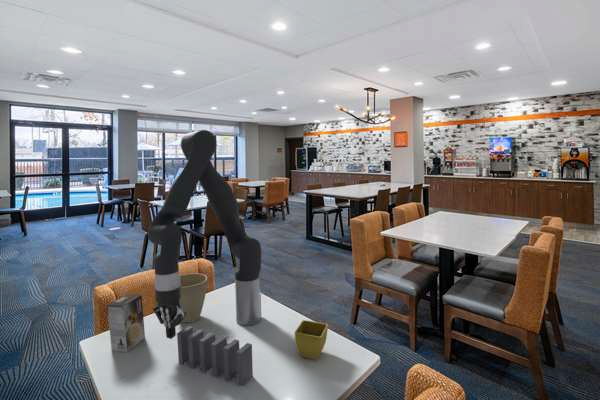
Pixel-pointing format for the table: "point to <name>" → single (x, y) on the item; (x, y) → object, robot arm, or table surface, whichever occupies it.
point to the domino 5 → (230, 360)
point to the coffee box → (126, 322)
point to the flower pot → (311, 338)
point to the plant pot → (192, 295)
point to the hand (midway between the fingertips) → (171, 337)
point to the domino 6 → (244, 364)
